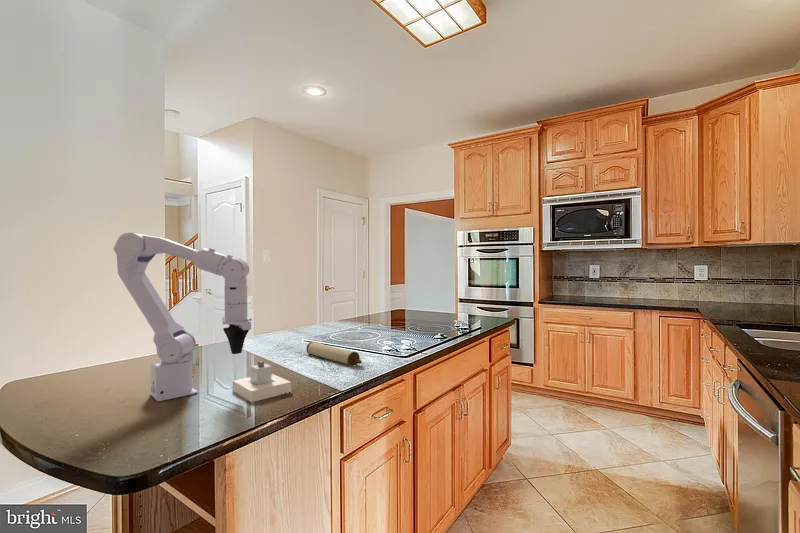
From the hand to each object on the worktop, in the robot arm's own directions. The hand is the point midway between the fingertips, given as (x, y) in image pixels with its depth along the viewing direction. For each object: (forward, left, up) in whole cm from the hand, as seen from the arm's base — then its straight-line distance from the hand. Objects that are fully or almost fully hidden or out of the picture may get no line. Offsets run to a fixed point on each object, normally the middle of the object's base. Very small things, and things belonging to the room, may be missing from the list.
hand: (236, 353), depth 107 cm
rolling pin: (+39, +11, -11) cm, 42 cm away
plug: (+5, -5, -10) cm, 12 cm away
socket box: (+5, -5, -10) cm, 13 cm away
